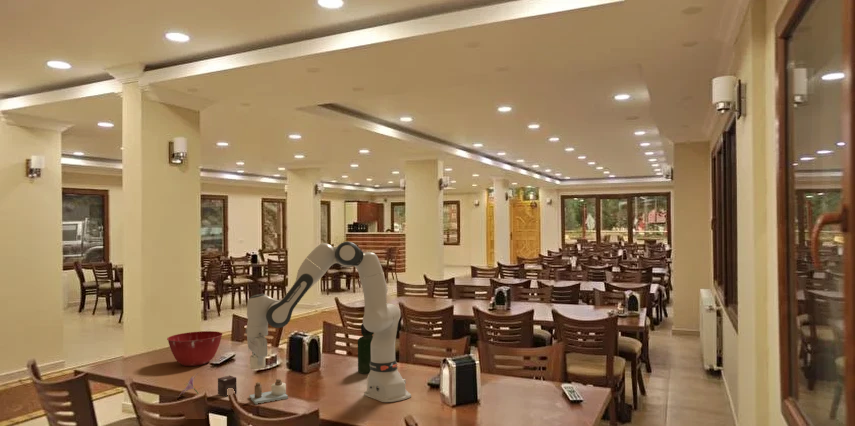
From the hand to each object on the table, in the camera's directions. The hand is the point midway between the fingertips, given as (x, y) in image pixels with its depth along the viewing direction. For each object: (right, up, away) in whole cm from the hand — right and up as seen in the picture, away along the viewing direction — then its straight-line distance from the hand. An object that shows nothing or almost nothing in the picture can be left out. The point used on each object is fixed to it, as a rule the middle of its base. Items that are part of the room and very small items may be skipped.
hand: (257, 363), depth 238 cm
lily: (-33, -17, +8) cm, 38 cm away
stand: (+4, -16, +2) cm, 17 cm away
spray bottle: (+44, -16, +43) cm, 63 cm away
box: (-17, -17, +9) cm, 25 cm away
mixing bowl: (-55, -19, +66) cm, 88 cm away
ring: (0, -2, 0) cm, 2 cm away
